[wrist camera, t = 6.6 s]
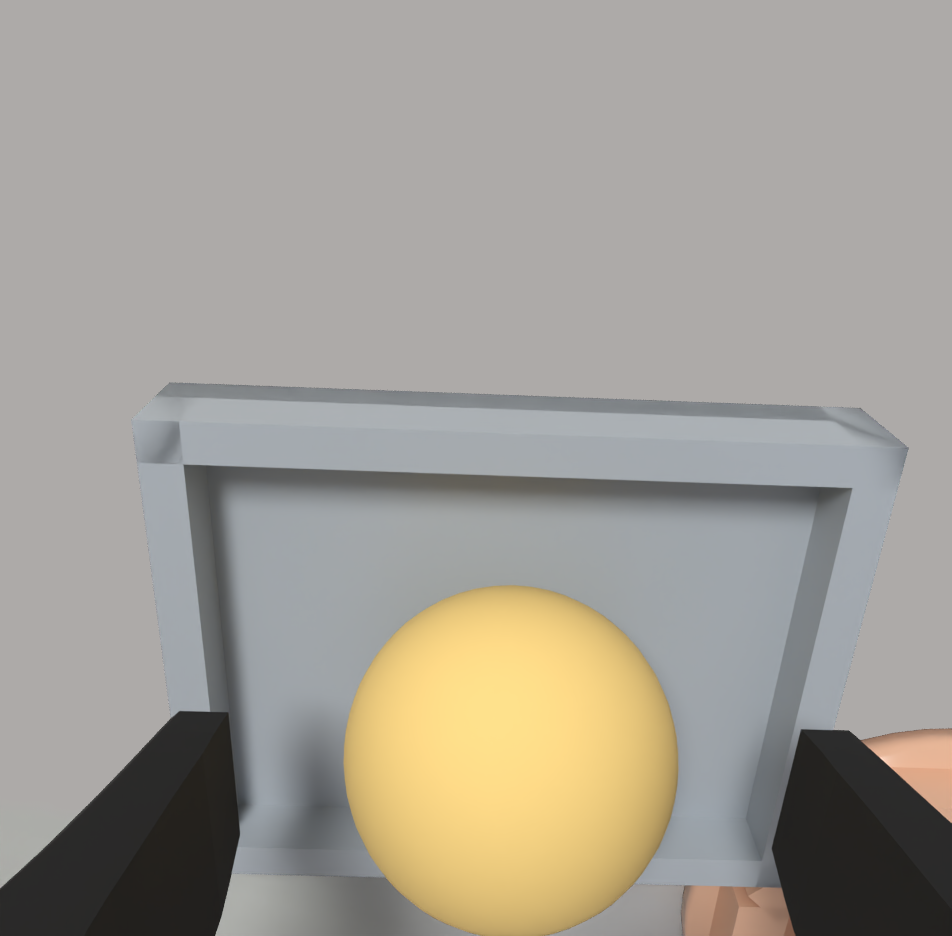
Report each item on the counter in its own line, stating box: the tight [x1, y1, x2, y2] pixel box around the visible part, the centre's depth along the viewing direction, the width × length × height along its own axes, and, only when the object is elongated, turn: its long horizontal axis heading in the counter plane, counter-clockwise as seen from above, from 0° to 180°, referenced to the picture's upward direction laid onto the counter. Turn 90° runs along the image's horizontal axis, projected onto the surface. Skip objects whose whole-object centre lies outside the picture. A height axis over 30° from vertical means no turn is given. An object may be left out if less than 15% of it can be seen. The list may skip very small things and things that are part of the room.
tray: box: [131, 383, 908, 888], centre depth 13 cm, size 10×8×2 cm
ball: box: [343, 585, 679, 936], centre depth 11 cm, size 4×4×4 cm
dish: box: [681, 729, 952, 936], centre depth 16 cm, size 8×8×1 cm
